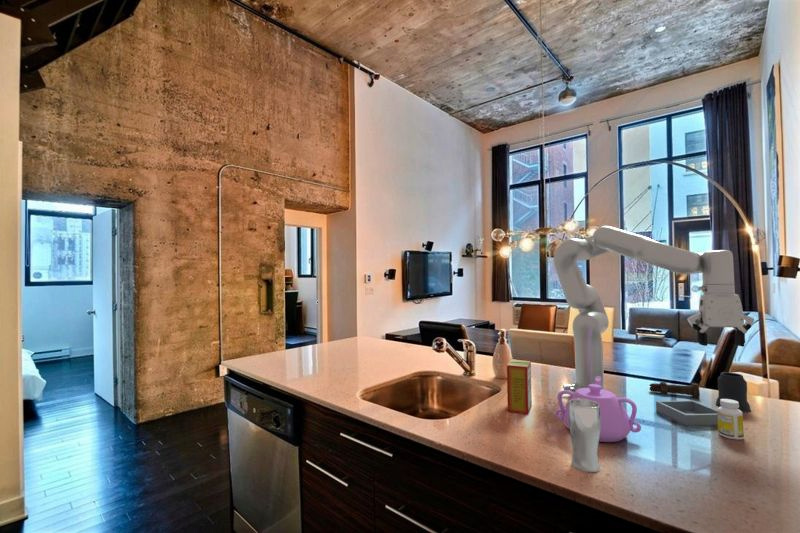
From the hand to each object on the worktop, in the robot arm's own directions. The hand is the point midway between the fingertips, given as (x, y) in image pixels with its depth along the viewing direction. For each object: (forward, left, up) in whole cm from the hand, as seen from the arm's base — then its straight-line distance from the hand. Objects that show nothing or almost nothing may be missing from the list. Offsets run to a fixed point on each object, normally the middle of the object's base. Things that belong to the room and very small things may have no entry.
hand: (721, 345), depth 116 cm
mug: (+15, +13, -24) cm, 31 cm away
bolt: (+5, +27, -24) cm, 36 cm away
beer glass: (-56, -24, -24) cm, 65 cm away
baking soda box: (-58, +15, -24) cm, 65 cm away
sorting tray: (-8, +3, -23) cm, 25 cm away
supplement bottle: (-7, -10, -24) cm, 27 cm away
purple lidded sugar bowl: (-42, -4, -24) cm, 48 cm away
